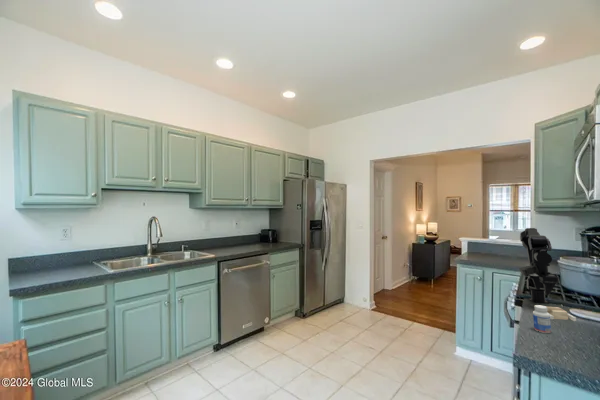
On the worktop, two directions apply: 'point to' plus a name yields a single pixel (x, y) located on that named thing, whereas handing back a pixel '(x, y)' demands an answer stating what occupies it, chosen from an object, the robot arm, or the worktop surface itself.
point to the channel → (568, 317)
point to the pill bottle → (541, 319)
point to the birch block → (557, 313)
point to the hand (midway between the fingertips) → (542, 292)
